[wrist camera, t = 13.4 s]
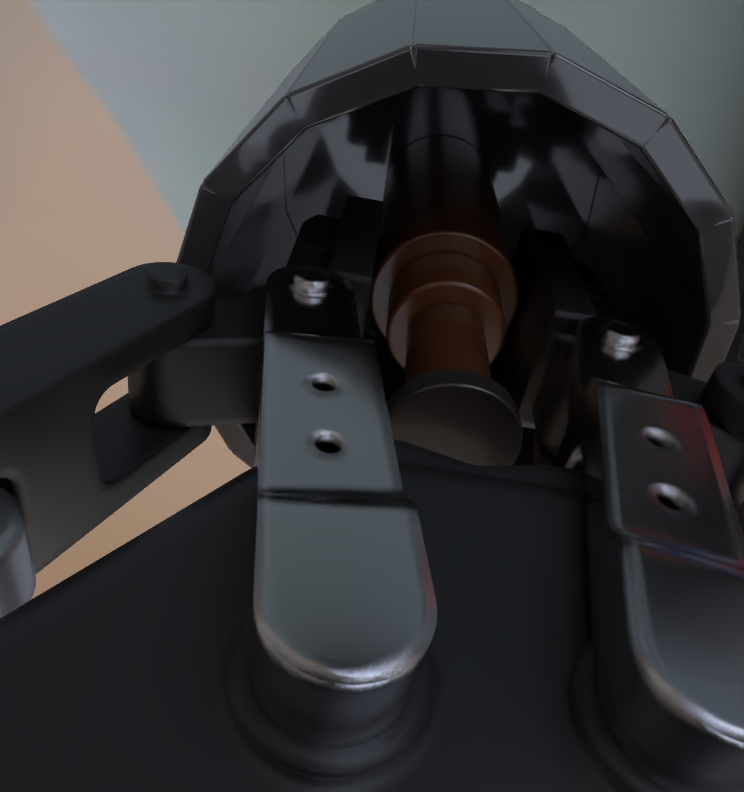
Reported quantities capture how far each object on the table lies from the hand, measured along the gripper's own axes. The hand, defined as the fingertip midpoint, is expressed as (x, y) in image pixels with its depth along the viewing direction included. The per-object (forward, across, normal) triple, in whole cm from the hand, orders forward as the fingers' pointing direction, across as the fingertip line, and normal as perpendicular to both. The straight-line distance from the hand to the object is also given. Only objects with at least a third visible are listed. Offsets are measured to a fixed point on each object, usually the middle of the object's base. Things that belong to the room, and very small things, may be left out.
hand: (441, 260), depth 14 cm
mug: (+5, 0, +2) cm, 5 cm away
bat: (+4, 0, 0) cm, 4 cm away
